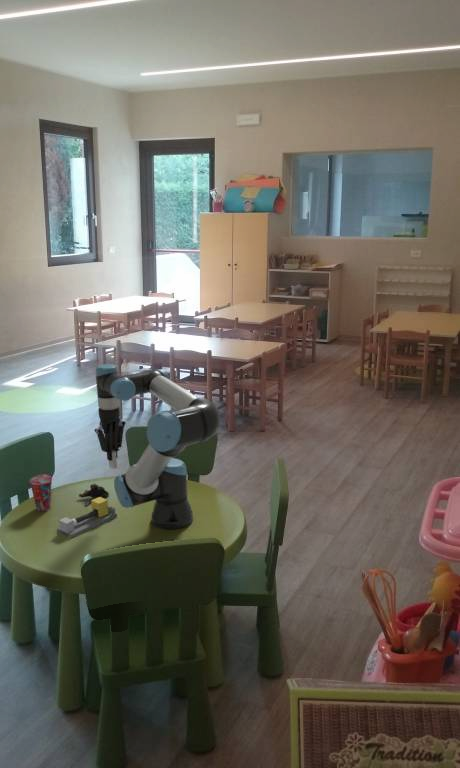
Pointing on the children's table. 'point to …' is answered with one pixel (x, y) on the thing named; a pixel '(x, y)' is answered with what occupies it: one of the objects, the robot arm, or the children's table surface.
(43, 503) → the cup
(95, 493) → the stuffed animal
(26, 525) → the children's table surface
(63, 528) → the comb rail
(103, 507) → the sleeve
